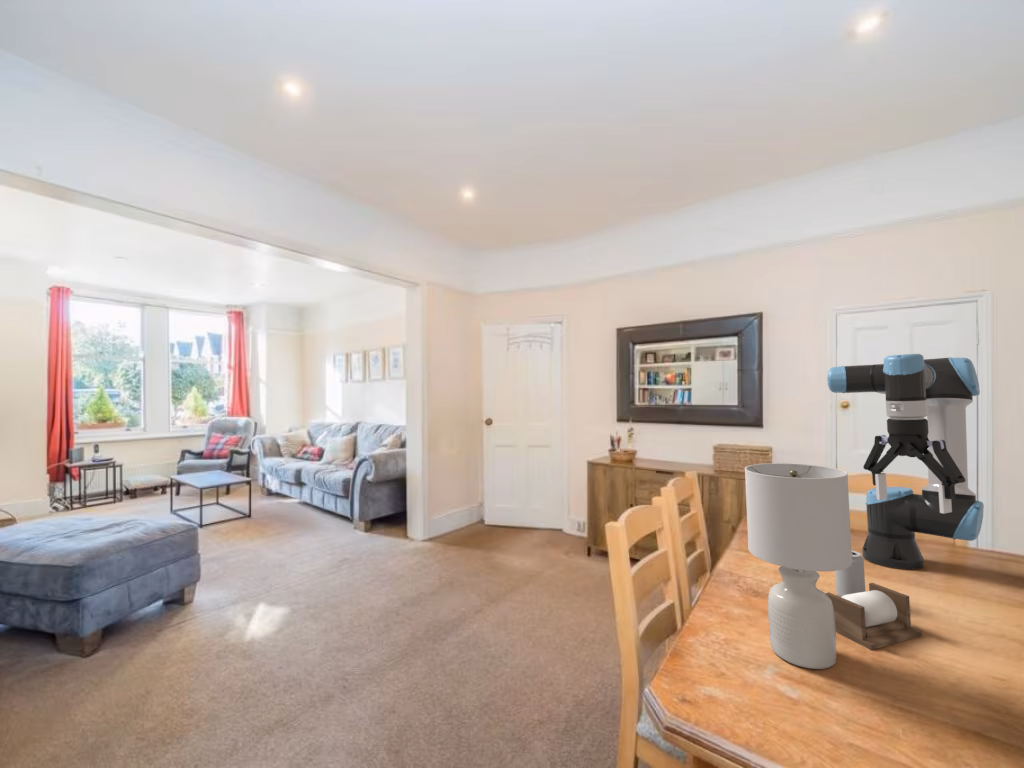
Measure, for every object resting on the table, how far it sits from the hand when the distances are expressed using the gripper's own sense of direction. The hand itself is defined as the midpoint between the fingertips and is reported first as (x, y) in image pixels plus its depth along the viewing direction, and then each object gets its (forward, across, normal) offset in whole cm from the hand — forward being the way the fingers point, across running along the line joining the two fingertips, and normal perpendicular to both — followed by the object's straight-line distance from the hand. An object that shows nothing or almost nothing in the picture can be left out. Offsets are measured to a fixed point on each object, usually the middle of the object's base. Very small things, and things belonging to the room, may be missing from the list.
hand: (912, 505), depth 109 cm
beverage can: (+28, -14, -4) cm, 31 cm away
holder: (+27, -1, -16) cm, 31 cm away
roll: (+26, 0, -16) cm, 30 cm away
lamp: (+26, +2, -39) cm, 47 cm away
